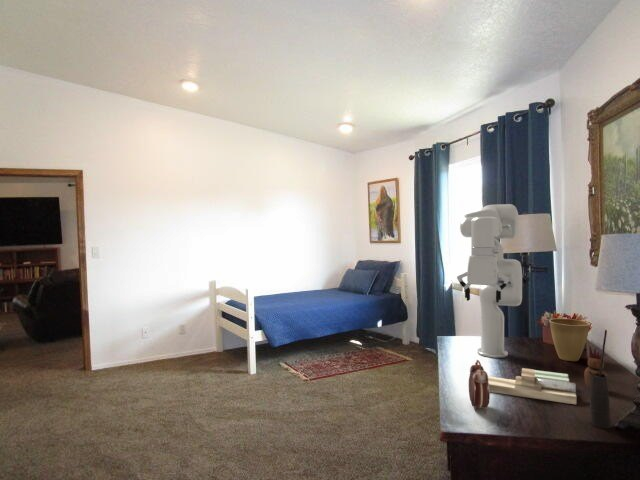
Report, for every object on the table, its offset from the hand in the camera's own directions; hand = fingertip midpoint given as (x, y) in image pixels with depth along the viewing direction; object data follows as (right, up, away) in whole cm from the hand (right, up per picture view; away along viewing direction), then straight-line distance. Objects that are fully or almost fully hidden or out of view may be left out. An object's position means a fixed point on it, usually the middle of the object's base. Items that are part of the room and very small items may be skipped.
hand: (482, 301), depth 153 cm
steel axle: (+20, -29, -6) cm, 35 cm away
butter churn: (+23, -32, -27) cm, 47 cm away
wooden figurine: (+39, -31, -1) cm, 50 cm away
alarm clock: (-7, -32, -15) cm, 36 cm away
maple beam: (+14, -31, -4) cm, 34 cm away
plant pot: (+49, -30, +34) cm, 67 cm away
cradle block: (+24, -31, +1) cm, 39 cm away
